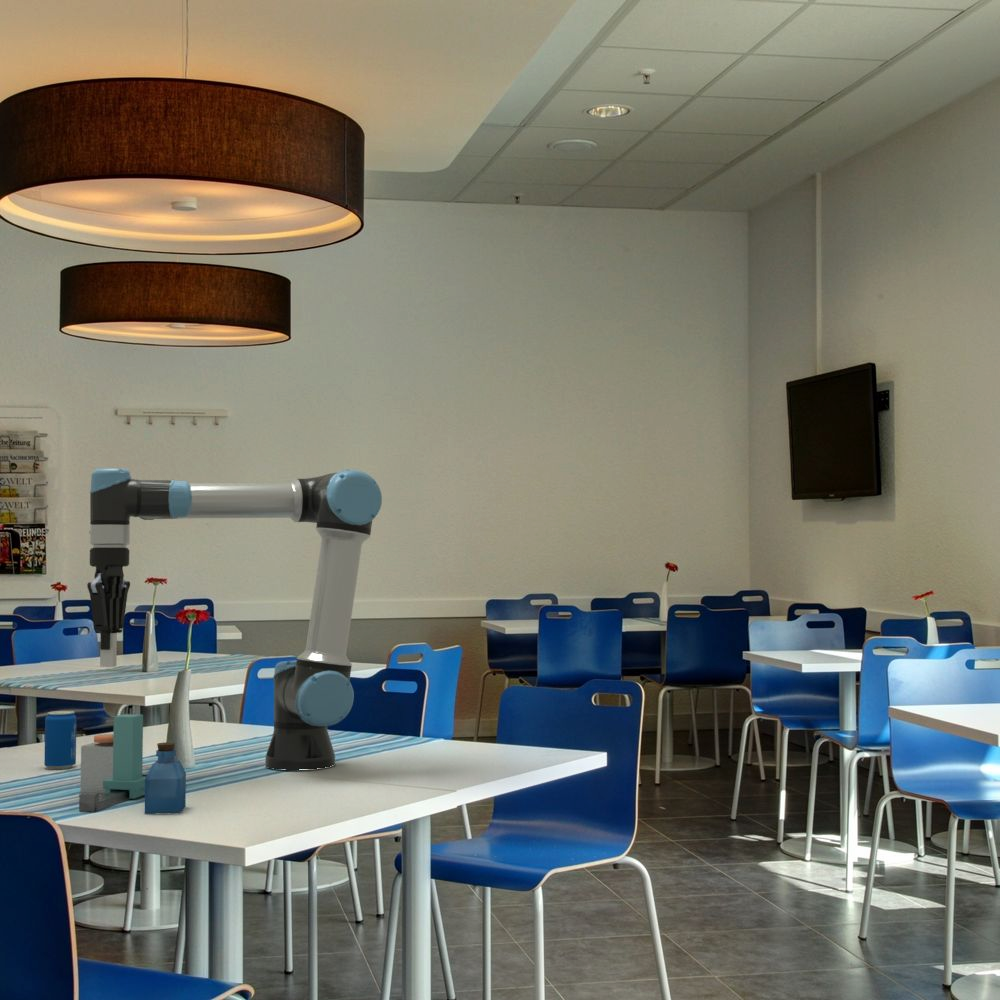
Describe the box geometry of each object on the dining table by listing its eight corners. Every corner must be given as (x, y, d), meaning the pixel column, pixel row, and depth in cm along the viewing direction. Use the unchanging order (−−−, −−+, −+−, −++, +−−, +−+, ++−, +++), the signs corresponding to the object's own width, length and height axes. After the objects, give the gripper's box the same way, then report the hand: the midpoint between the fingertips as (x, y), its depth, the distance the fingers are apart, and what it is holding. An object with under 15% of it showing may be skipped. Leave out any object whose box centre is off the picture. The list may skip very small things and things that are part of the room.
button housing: (131, 787, 258) (131, 742, 259) (113, 794, 251) (114, 747, 252) (98, 786, 260) (99, 741, 260) (80, 792, 253) (81, 746, 253)
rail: (156, 788, 257) (156, 773, 257) (94, 811, 234) (94, 795, 234) (142, 788, 258) (142, 773, 258) (79, 811, 234) (79, 794, 234)
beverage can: (65, 770, 279) (66, 714, 280) (38, 769, 281) (39, 713, 281) (81, 766, 286) (82, 711, 286) (54, 765, 287) (55, 710, 288)
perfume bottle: (179, 813, 232) (180, 745, 233) (144, 814, 232) (145, 746, 233) (185, 807, 239) (186, 741, 239) (151, 807, 238) (151, 741, 239)
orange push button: (123, 765, 258) (124, 734, 258) (111, 769, 253) (111, 737, 253) (101, 764, 259) (101, 733, 259) (88, 768, 254) (89, 737, 254)
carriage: (151, 793, 251) (152, 714, 251) (136, 798, 245) (137, 717, 246) (118, 791, 252) (119, 713, 253) (102, 797, 246) (103, 717, 247)
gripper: (108, 547, 265) (107, 663, 264) (75, 546, 252) (73, 668, 251) (142, 546, 263) (141, 664, 262) (110, 546, 251) (109, 669, 250)
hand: (108, 666), depth 257 cm, fingers closed
